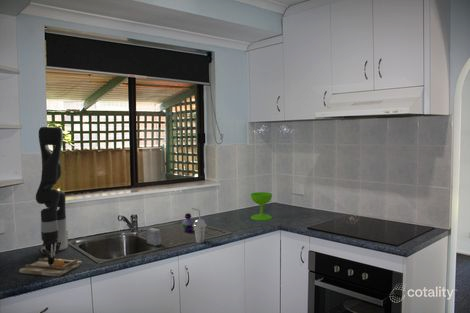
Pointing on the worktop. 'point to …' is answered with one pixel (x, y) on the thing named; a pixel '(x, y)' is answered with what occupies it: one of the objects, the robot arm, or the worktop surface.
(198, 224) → the cup with straw
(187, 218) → the potion bottle
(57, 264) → the ball
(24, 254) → the worktop surface
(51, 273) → the beige tray
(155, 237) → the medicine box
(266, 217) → the wineglass
